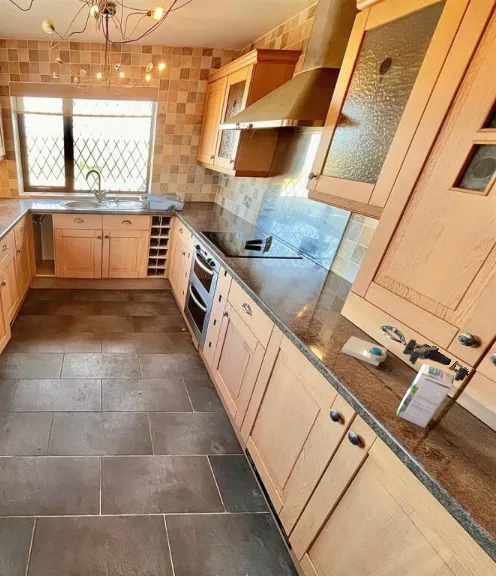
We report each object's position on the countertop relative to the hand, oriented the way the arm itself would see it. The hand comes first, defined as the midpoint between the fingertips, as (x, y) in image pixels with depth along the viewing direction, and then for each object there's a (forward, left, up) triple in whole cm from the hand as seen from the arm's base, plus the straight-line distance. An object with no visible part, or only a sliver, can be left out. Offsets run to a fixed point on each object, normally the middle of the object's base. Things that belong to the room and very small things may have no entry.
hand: (435, 369), depth 81 cm
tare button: (+13, -10, -7) cm, 17 cm away
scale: (+16, -13, -10) cm, 23 cm away
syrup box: (0, +9, -11) cm, 14 cm away
